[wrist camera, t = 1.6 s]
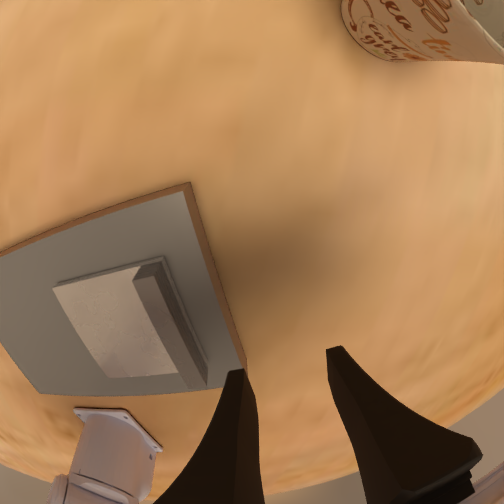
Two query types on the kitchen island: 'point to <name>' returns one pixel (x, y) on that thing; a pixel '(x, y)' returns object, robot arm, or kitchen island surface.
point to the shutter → (135, 322)
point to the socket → (101, 259)
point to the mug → (428, 29)
